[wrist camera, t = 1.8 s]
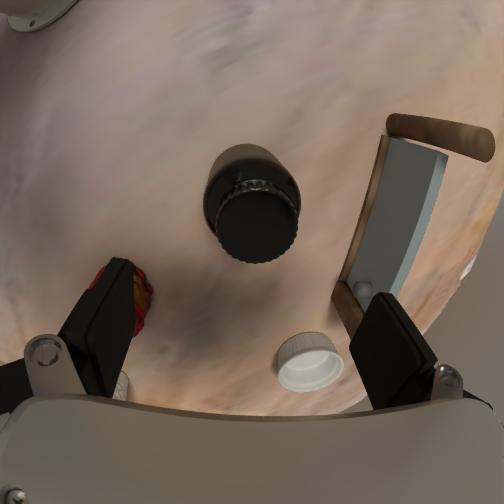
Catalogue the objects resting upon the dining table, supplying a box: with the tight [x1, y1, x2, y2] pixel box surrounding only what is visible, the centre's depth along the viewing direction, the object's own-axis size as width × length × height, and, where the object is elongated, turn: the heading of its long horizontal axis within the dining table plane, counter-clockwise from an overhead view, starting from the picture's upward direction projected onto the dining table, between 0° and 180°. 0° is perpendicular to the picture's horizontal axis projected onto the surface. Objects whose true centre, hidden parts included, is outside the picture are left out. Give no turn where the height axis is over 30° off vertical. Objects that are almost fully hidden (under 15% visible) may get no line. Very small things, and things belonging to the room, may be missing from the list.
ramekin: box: [277, 332, 344, 392], centre depth 36 cm, size 9×9×4 cm
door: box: [346, 138, 448, 312], centre depth 25 cm, size 17×3×8 cm, turn 170°
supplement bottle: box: [203, 144, 301, 264], centre depth 21 cm, size 7×7×12 cm
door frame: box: [331, 113, 495, 340], centre depth 23 cm, size 23×3×13 cm, turn 170°
